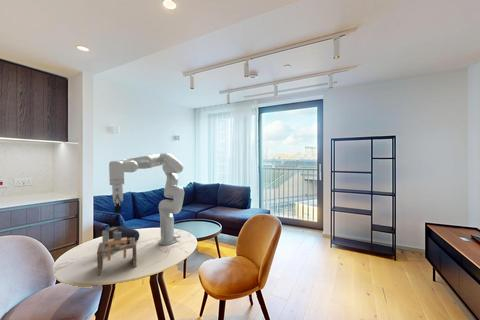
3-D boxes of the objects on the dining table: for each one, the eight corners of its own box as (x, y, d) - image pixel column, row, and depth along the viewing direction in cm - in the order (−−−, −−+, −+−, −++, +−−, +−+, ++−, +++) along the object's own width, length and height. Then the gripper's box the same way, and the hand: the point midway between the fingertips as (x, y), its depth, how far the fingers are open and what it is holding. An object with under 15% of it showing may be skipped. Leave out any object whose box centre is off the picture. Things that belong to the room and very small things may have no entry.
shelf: (135, 257, 140) (134, 235, 139) (136, 267, 127) (136, 243, 127) (100, 264, 131) (99, 241, 130) (97, 275, 118) (97, 250, 118)
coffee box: (110, 255, 142) (110, 231, 142) (102, 255, 144) (101, 230, 143) (121, 249, 151) (120, 226, 151) (112, 249, 152) (112, 226, 152)
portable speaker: (142, 242, 165) (141, 228, 165) (129, 246, 156) (129, 232, 156) (122, 236, 178) (121, 223, 177) (109, 240, 169) (109, 227, 169)
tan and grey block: (125, 255, 133) (126, 230, 133) (126, 257, 129) (127, 232, 129) (107, 257, 128) (108, 232, 128) (107, 260, 125) (108, 234, 125)
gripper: (124, 183, 123) (125, 213, 124) (124, 180, 138) (124, 207, 139) (108, 184, 119) (109, 215, 120) (110, 180, 135) (111, 208, 135)
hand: (117, 210), depth 129 cm, fingers open, 9 cm apart
